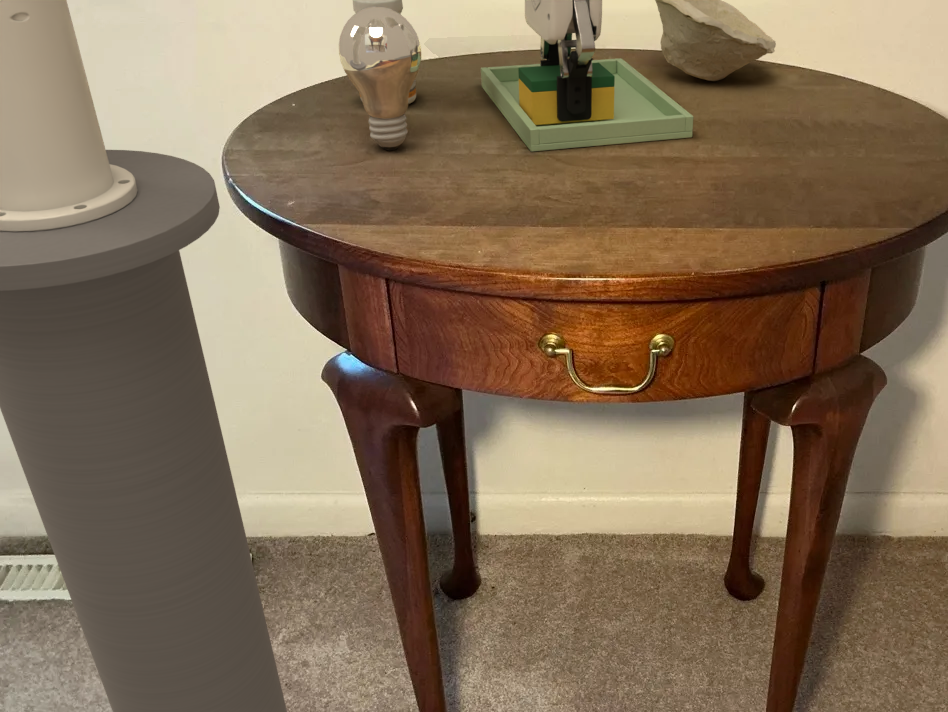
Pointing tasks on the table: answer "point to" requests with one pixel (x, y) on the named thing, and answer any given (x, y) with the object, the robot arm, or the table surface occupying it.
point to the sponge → (542, 93)
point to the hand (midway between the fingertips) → (565, 108)
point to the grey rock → (709, 37)
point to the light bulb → (381, 69)
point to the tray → (635, 120)
